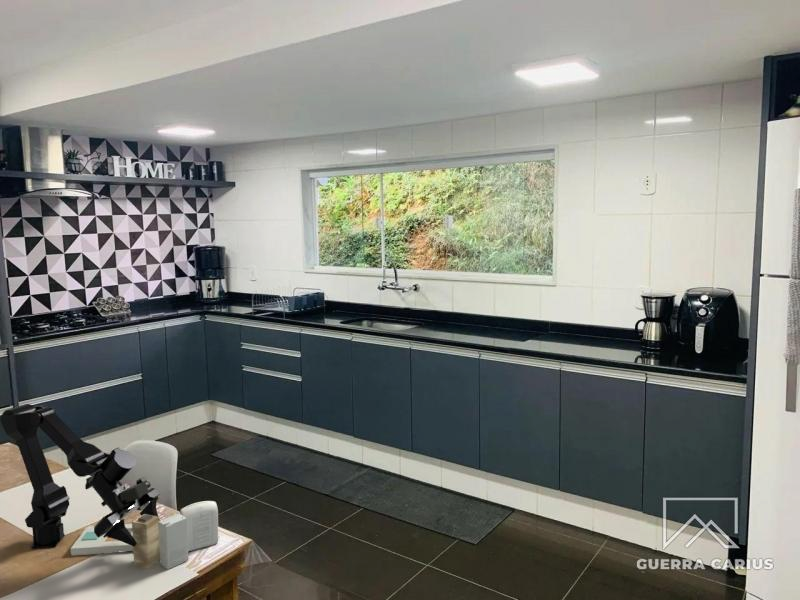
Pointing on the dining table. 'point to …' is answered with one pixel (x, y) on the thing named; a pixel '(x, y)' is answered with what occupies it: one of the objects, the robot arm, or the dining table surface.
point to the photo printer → (201, 524)
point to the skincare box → (173, 541)
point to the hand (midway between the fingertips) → (148, 536)
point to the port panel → (98, 543)
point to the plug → (146, 541)
